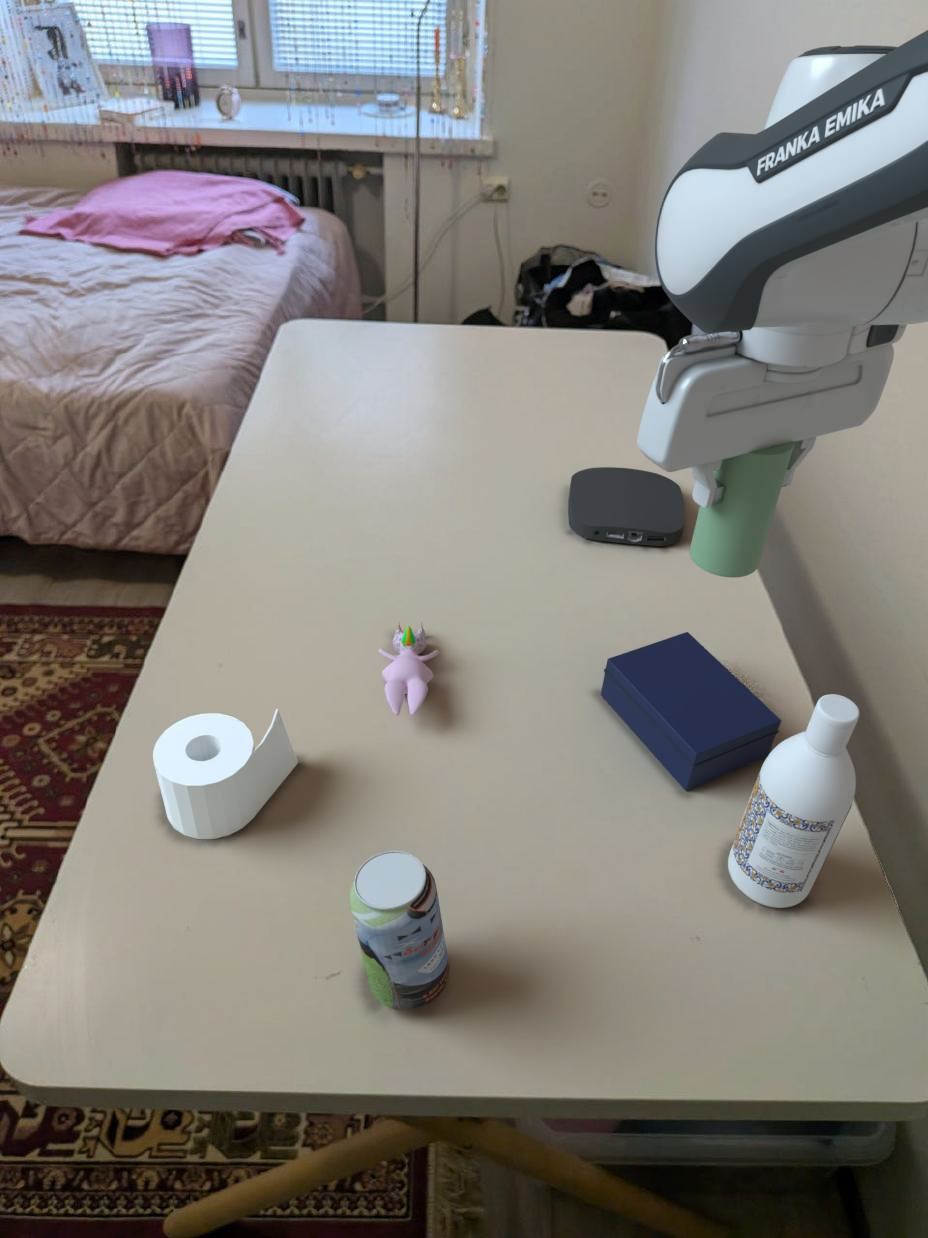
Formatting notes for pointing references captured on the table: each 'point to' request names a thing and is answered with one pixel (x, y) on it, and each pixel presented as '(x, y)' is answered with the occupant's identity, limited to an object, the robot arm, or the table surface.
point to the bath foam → (797, 808)
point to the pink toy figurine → (407, 670)
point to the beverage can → (400, 930)
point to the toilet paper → (219, 772)
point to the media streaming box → (626, 506)
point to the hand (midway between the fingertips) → (741, 493)
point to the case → (689, 709)
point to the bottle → (740, 512)
